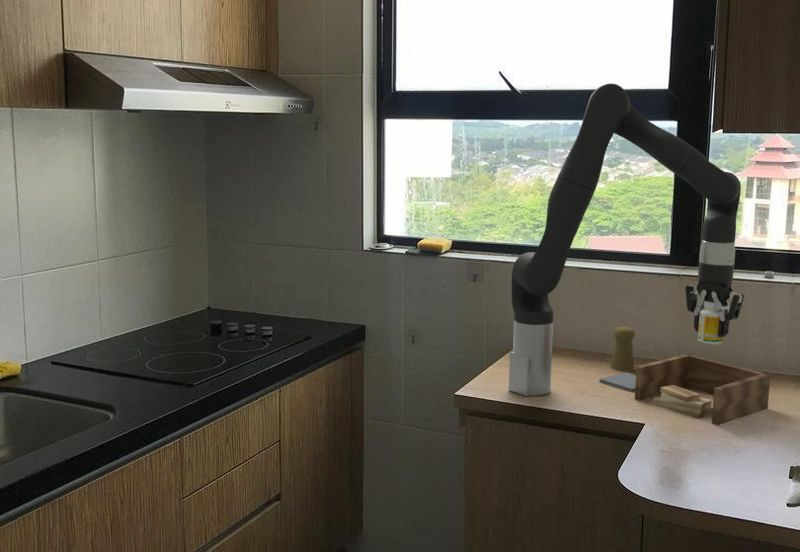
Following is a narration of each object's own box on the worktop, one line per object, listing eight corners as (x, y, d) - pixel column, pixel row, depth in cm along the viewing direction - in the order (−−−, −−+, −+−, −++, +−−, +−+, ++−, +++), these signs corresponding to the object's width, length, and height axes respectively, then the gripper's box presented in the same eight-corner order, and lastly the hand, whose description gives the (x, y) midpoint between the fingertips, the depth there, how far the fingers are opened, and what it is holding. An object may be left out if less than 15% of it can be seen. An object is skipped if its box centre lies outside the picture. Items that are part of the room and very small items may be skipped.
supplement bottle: (692, 340, 204) (695, 299, 203) (709, 338, 206) (713, 298, 205) (709, 346, 199) (713, 304, 198) (727, 343, 202) (731, 302, 200)
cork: (636, 371, 230) (639, 330, 228) (613, 371, 230) (615, 329, 228) (631, 365, 236) (633, 324, 234) (608, 364, 236) (610, 324, 234)
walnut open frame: (717, 425, 190) (720, 389, 188) (634, 399, 207) (636, 366, 206) (767, 408, 201) (770, 374, 200) (685, 385, 219) (687, 353, 217)
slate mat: (631, 392, 213) (632, 388, 212) (599, 382, 220) (599, 378, 220) (657, 384, 219) (657, 381, 218) (625, 375, 226) (625, 372, 226)
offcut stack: (698, 418, 194) (699, 400, 193) (652, 404, 203) (654, 387, 203) (713, 413, 197) (714, 395, 197) (668, 400, 207) (669, 382, 206)
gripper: (679, 258, 203) (674, 329, 206) (735, 266, 192) (729, 342, 195) (699, 255, 208) (693, 325, 210) (755, 264, 196) (748, 338, 199)
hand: (710, 333), depth 203 cm, fingers closed on supplement bottle, 5 cm apart
